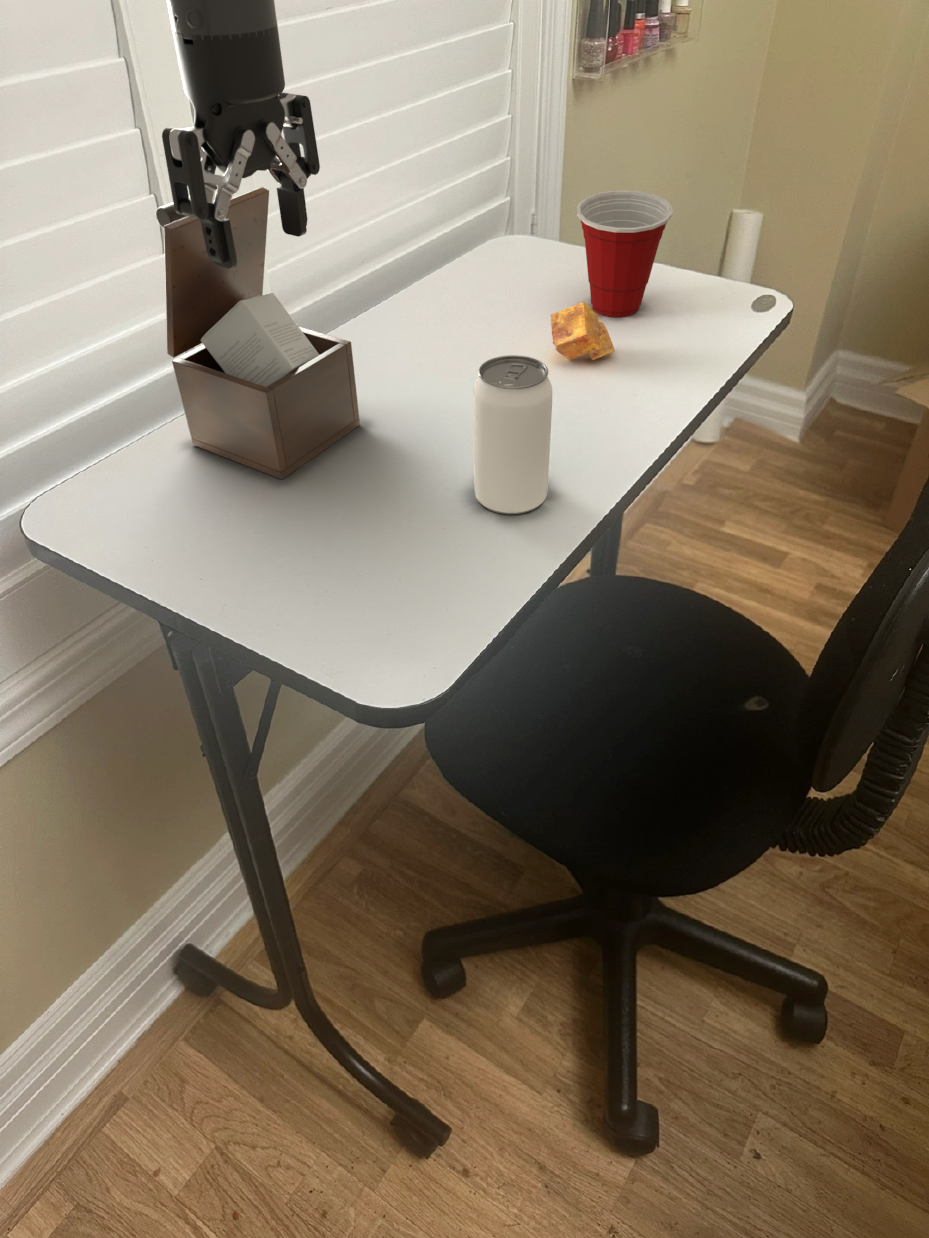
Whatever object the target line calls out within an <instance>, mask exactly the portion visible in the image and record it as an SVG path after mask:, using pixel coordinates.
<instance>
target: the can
mask: <svg viewBox="0 0 929 1238" xmlns="http://www.w3.org/2000/svg"><path fill="white" fill-rule="evenodd" d="M552 413H553V385H552V383H551V380H550V378H549V368H548V366H547V365H546V364H545V363H543V362H542V361H541V360H539V359H536V358H534V357H531V356H526V355H517V354H515V355H514V354H509V355H501V356H500V355H499V356H496V357H493V358H490V359H488V360H486V361H484V362H483V363H482V364H481V365H480V366H479V368H478V377H477V379H476V381H475V383H474V387H473V467H474V468H473V471H474V473H473V475H474V477H473V478H474V479H473V480H474V495H475V498H476V499H477V502H479V504H481V505H482V506H483V507H484V508H486V509H487V510H489V511H490V512H493V513H497V514H502V515H520V514H521V515H522V514H526V513H529V512H531V511H533V510H535V509H537V508H538V507H539V506H540V505H541V504H543V503H544V501H545V500H546V499H547V496H548V487H549V473H550V453H551V436H552V435H551V433H552V416H553V415H552Z"/></svg>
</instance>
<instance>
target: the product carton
mask: <svg viewBox="0 0 929 1238" xmlns="http://www.w3.org/2000/svg"><path fill="white" fill-rule="evenodd" d="M299 327H300V326H299V325H298V324H297V322H296V321H295V320H294V319H293V317H292V316H291V315H290V313H289V312H288V311H287V309H286V308H285V307H284V305H283V304H282V302H281V301H280V300H279V299H278V297H277V295H275V293H274V292H271V293H267V294H263V295H258V296H255V297H252V298H250V299H245V300H241V301H239V302H238V303H237V304H236V305H235V306H234V307H233V308H232V309H231V310H230V311H229V312H228V313H227V314H226V315H225V316H224V317H223V318H222V319H221V320H219V321H218V322H217V323H216V324H215V325H214V326H213V327H212V328H211V329H210V330H209V331H208V332H207V333H206V334H205V335H204V336H203V337H202V339H201V342H202V343H201V344H202V345H204V346H205V347H206V348H207V350H208V351H209V352H210V354H211V355H212V356H213V358H214V359H215V360H216V362H217V363H218V364H219V366H220V367H221V368H222V370H223V371H224V372H225V373H226V374H228V375H231V376H234V377H237V378H240V379H243V380H246V381H249V382H252V383H255V384H258V385H261V386H264V387H267V386H269V385H270V384H272V383H274V382H275V381H277V380H279V379H280V378H282V377H284V376H285V375H287V374H289V373H290V372H292V371H294V370H295V369H297V368H299V367H300V366H302V365H304V364H305V363H307V362H309V361H310V360H312V359H314V358H315V357H317V356H319V353H318V352H317V351H316V349H315V348H314V347H313V345H312V344H311V343H310V341H309V340H308V339H307V337H306V336H305V335H304V333H303V332H302V331H301V329H300V328H299Z"/></svg>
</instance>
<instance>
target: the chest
mask: <svg viewBox="0 0 929 1238" xmlns="http://www.w3.org/2000/svg"><path fill="white" fill-rule="evenodd" d="M298 327H299V328H300V329H301V331H302V332H303V333H304V335H305V336H306V337H307V339H308V340H309V341H310V343H311V344H312V345H313V347H314V348H315V349H316V351H317V352H318V353H319V356H317V357H315V358H314V359H312V360H310V361H309V362H307V363H305V364H304V365H302V366H300V367H299V368H297V369H295V370H294V371H292V372H290V373H289V374H287V375H285V376H284V377H282V378H280V379H279V380H277V381H275V382H274V383H272V384H270V385H269V386H267V387H264V386H261V385H258V384H255V383H252V382H249V381H246V380H243V379H240V378H237V377H234V376H231V375H228V374H226V373H225V372H224V371H223V370H222V368H221V367H220V366H219V364H218V363H217V362H216V360H215V359H214V358H213V356H212V355H211V354H210V352H209V351H208V350H207V348H206V347H205V346H204V345H203V344H200V345H198V346H196V347H195V348H193V349H192V350H189V351H188V352H185V353H183V354H181V355H179V356H178V357H176V358H174V359H173V360H172V361H171V363H172V367H173V371H174V375H175V379H176V383H177V387H178V391H179V395H180V399H181V402H182V403H181V404H182V408H183V411H184V416H185V419H186V423H187V427H188V430H189V435H190V439H191V443H192V445H193V446H194V447H196V448H199V449H202V450H204V451H207V452H210V453H212V454H215V455H218V456H220V457H223V458H225V459H228V460H231V461H232V462H233V461H234V462H236V463H239V464H241V465H243V466H246V467H248V468H251V469H254V470H257V471H259V472H261V473H264V474H266V475H269V476H272V477H275V478H277V479H280V480H284V479H285V478H287V477H288V476H289V475H291V474H292V473H294V472H295V471H297V470H298V469H299V468H302V466H304V465H305V464H307V463H308V462H309V461H311V460H313V459H314V458H315V457H317V456H318V455H319V454H321V453H323V452H324V451H326V450H327V449H328V448H330V447H331V446H333V445H334V444H335V443H337V442H338V441H340V440H341V439H342V438H344V437H345V436H347V435H348V434H349V433H351V432H352V431H354V430H355V429H357V428H358V427H360V426H361V420H360V411H359V401H358V394H357V385H356V383H357V382H356V374H355V366H354V356H353V347H352V341H350V340H346V339H343V338H339V337H336V336H332V335H330V334H325V333H322V332H318V331H315V330H312V329H309V328H305V327H301V326H298Z"/></svg>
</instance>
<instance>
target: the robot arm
mask: <svg viewBox="0 0 929 1238" xmlns="http://www.w3.org/2000/svg"><path fill="white" fill-rule="evenodd" d="M165 1H166V6H167V10H168V11H167V12H168V17H169V21H170V26H171V31H172V32H171V33H172V37H173V42H174V47H175V48H174V49H175V52H176V57H177V63H178V67H179V72H180V77H181V84H182V87H183V92H184V94H185V96H186V97H187V98H188V100H189V101H190V103H191V105H192V108H193V110H194V120H193V126H189V127H186V128H185V127H184V128H176V127H175V128H174V127H165V128H163V130H162V133H161V138H162V139H161V140H162V146H163V151H164V156H165V163H166V169H167V174H168V180H169V186H170V192H171V197H172V202H173V204H174V209H175V211H176V213H178V214H180V215H185V216H190V217H194V218H197V219H199V220H200V222H201V226H202V231H203V236H204V241H205V246H206V251H207V255H208V257H209V259H210V260H212V261H213V263H214V264H215V265H216V266H220V267H223V268H227V269H230V268H232V267H234V266H236V265H237V257H236V252H235V246H234V241H233V235H232V230H231V224H230V220H229V219H225V218H226V216H227V212H228V209H229V205H230V202H231V199H233V198H232V197H233V196H234V195H235V194H237V193H238V191H239V190H240V187H241V184H242V181H243V179H247V178H249V177H252V176H253V175H254V174H255V173H256V172H257V171H259V172H260V171H262V172H263V171H265V172H266V171H268V172H269V174H270V175H271V176H272V178H273V179H274V180H275V182H276V183H277V184H278V185H280V186H278V187H276V194H277V195H276V196H277V202H278V208H279V214H280V222H281V229H282V231H283V232H284V233H285V234H286V235H290V236H293V237H302V236H304V235H306V234H307V230H308V228H307V226H308V211H307V207H306V206H307V203H306V196H305V188H306V186H307V184H308V179H309V178H310V176H312V175H314V176H316V175H318V174H319V172H320V169H321V165H320V158H319V150H318V145H317V138H316V131H315V126H314V124H315V123H314V118H313V113H312V112H313V111H312V106H311V100H310V98H309V96H307V95H302V94H295V93H288V92H284V91H285V88H286V81H285V79H286V78H285V74H284V73H285V72H284V66H283V65H284V64H283V57H282V51H281V41H280V35H279V34H280V33H279V26H278V20H277V18H278V17H277V11H276V4H275V0H165ZM282 133H283V135H282ZM300 145H301V146H302V149H303V150H302V151H303V155H304V156H302V151H301V146H300ZM217 169H218V170H220V172H221V173H223V174H222V175H220V174H216V171H217ZM214 193H215V194H214ZM189 196H190V199H189ZM213 196H214V197H213ZM211 201H212V202H211Z"/></svg>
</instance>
